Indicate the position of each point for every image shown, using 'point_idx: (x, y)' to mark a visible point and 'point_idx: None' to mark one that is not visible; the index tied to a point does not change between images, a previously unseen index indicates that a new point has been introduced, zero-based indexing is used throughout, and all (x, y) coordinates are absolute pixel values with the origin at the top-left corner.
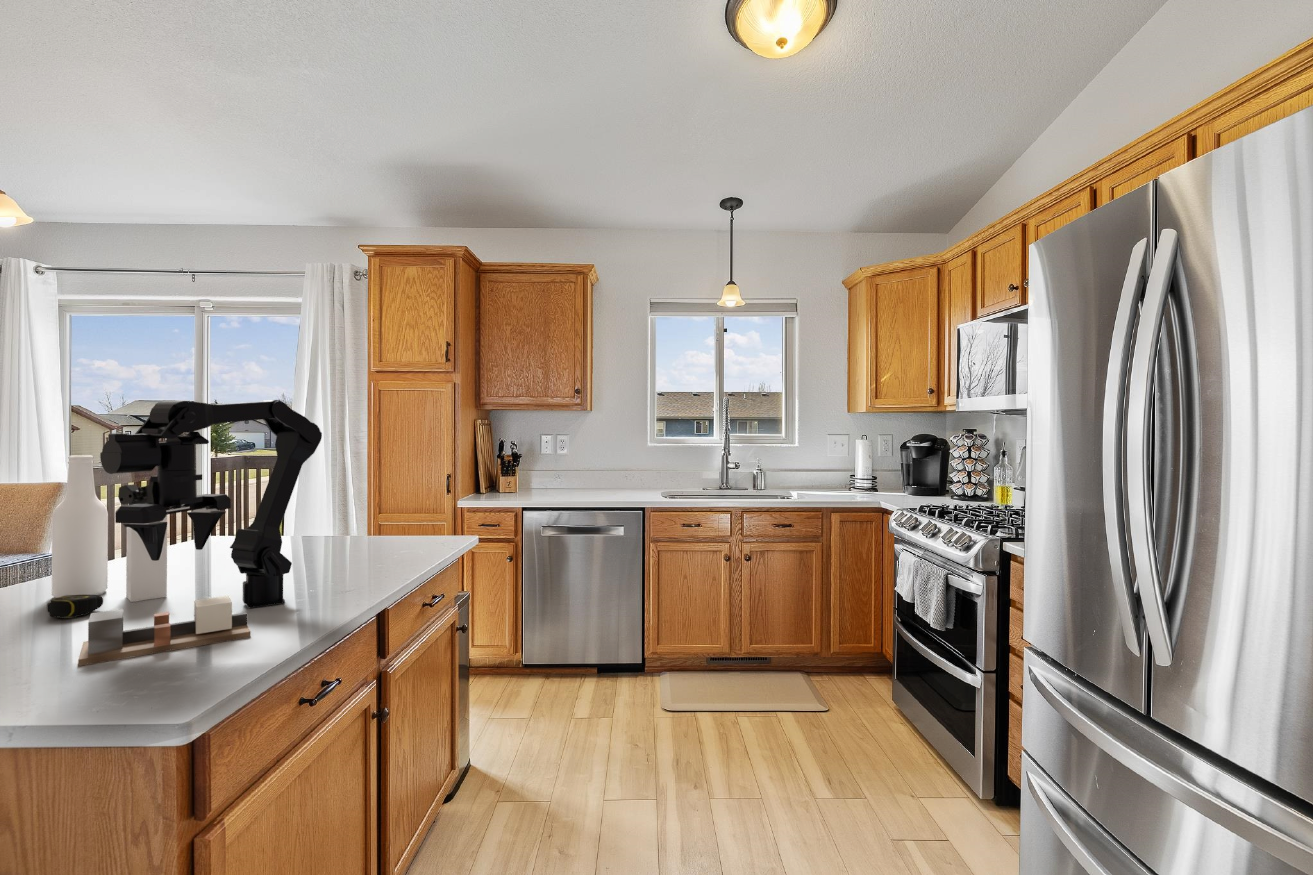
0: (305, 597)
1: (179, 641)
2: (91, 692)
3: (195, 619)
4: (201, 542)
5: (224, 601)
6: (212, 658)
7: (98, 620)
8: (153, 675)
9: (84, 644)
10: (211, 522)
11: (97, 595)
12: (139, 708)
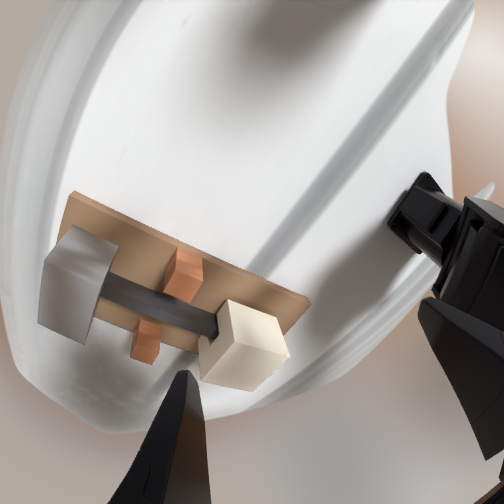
0: None
1: (169, 337)
2: (59, 369)
3: (219, 327)
4: (432, 343)
5: (251, 382)
6: None
7: (50, 326)
8: (109, 379)
9: (65, 218)
10: (473, 426)
11: None
12: (87, 412)
